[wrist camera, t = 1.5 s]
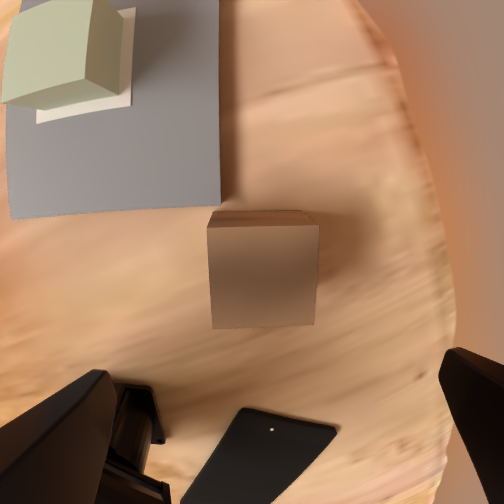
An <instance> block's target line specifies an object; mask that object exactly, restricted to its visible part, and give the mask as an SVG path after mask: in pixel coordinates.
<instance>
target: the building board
mask: <svg viewBox="0 0 504 504" xmlns="http://www.w3.org/2000/svg"><path fill="white" fill-rule="evenodd" d="M48 1H51V0H22V3H21V7H20V12H19V13H21V12H24V11H26V10H28V9H31V8H33V7H35V6H38V5H40V4H43V3H45V2H48ZM108 1H109V2H110V3H111V4H112V6H113V7H114V8H115V9H116V10H117V11H118V13H119V14H120V15H121V16H122V17H123V29H122V41H121V55H120V74H119V96H113V97H107V98H101V99H96V100H91V101H86V102H81V103H76V104H71V105H67V106H63V107H58V108H54V109H50V110H46V111H44V110H39V109H33V108H27V107H21V106H15V105H9V104H7V107H6V168H7V184H8V196H9V206H10V214H11V220H20V219H29V218H39V217H49V216H60V215H71V214H83V213H96V212H109V211H123V210H139V209H156V208H176V207H198V206H221V168H220V113H219V11H220V0H108Z"/></svg>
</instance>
